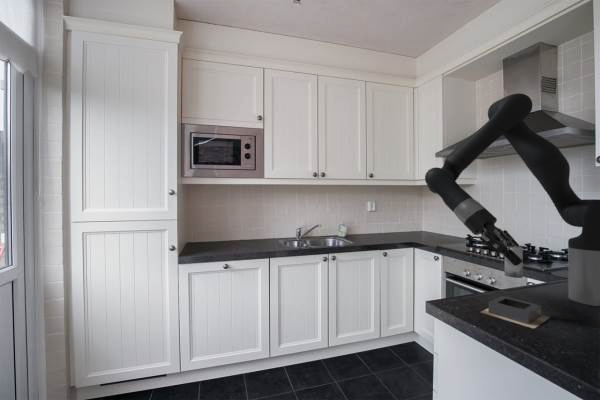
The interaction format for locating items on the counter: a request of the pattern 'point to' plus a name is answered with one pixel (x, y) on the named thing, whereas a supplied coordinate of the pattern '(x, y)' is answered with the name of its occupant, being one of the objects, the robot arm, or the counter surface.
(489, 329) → the counter surface
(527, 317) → the sleeve
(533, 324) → the board
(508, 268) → the cylinder
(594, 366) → the counter surface
